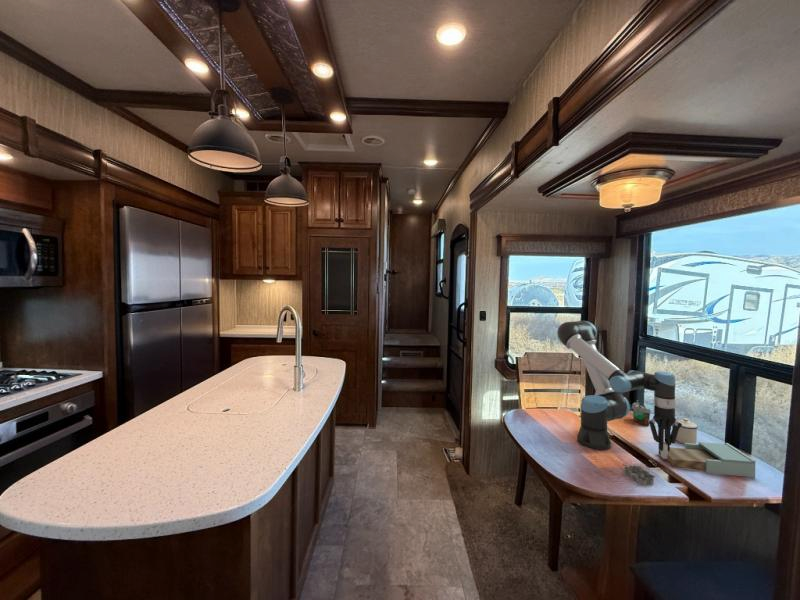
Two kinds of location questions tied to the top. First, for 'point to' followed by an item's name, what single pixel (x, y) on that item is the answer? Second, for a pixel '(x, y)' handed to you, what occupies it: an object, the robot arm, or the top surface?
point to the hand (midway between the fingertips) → (663, 457)
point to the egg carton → (639, 475)
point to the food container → (641, 414)
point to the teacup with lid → (687, 432)
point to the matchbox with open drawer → (725, 459)
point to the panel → (687, 458)
